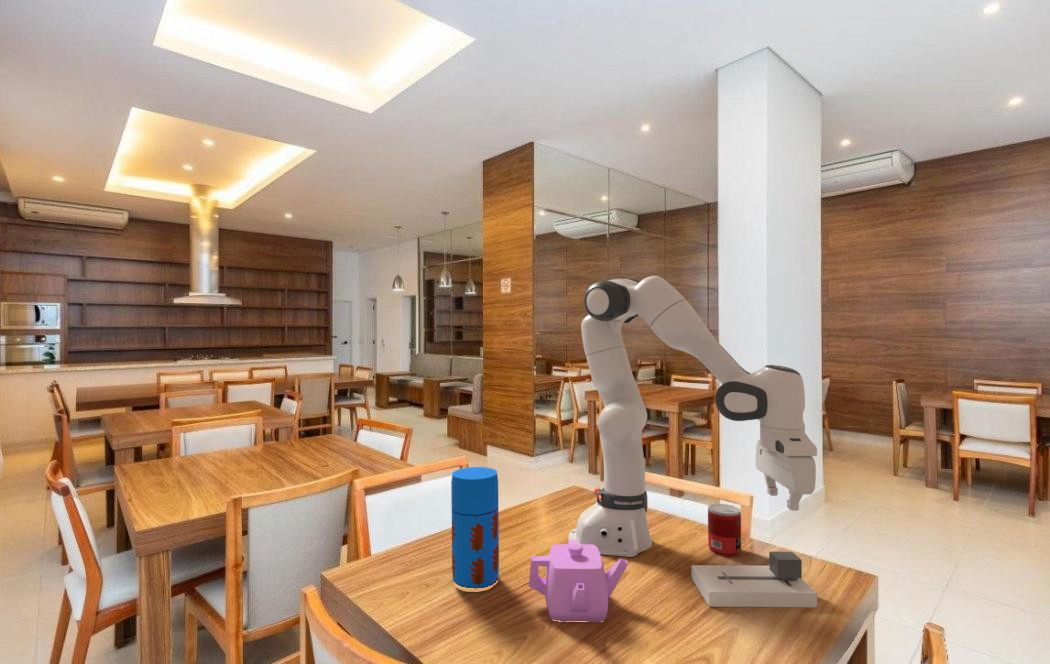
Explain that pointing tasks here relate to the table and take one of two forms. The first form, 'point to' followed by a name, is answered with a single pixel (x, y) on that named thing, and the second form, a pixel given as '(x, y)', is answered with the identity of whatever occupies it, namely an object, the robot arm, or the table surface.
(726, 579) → the slider panel
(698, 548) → the table surface
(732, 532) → the canned food
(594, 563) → the teakettle
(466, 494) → the thermos
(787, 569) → the block
